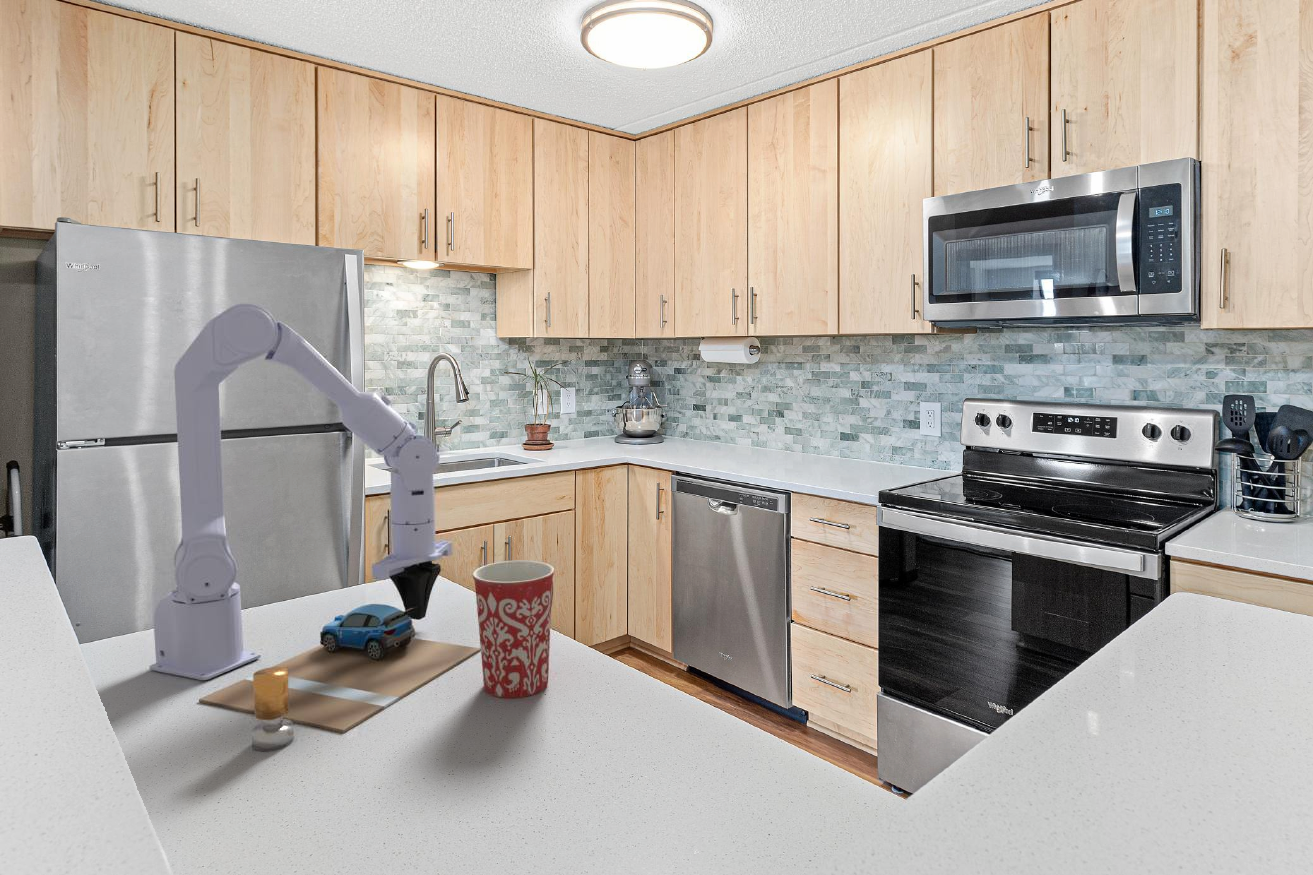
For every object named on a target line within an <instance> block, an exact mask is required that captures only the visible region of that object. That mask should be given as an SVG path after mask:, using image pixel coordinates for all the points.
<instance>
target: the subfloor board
mask: <svg viewBox="0 0 1313 875" xmlns="http://www.w3.org/2000/svg"><path fill="white" fill-rule="evenodd" d="M480 652H481V647H474V646H473V647H472V646H468V645H460V644H453V643H448V642H441V641H433V640H428V639H421V638H416V637H414V638H411V642H410V643H409V644H408V645H406V646H405V647H399V646H395V647H393V648H391V649H388V650H387V652H386V655H385V656H384V657H383V658H382V659H379V660H373V659H372V658H370V657H369V655H368V653H367V651H359V650H353V649H347V648H340V649H339V650H338V651H335V652H333V653H331V652H328V651H327V650H326V649H325V647H324V646H323V645H321V644H320V645H318V646H316V647H314V648H311V649H310V650H307V651H305V652H302V653H300V654H297V655H296V656H294V657H291V658H289V659H287V660H285V661H282V662H280V663H278V664H277V663H276V665H275V664H274V665H273V666H272V667H284V668H286V669H287V670H288V689H289V712H288V713H287V714H286V715H284V716H283V719H287V720H290V721H292V722H293V723H297V724H299V725H300V724H301V725H305V726H310V727H314V728H319V729H324V730H329V731H333V732H339V733H343V734H344V733H346V732H348V731H350V730H351V729H353V728H354V727H356V726H358V725H361V723H363V722H364V721H366V720H368V719H370V718H371V717H373V716H374V715H376V714H378V713H379V712H382V711H383V710H385V709H386V708H388V707H390V706H391V705H393V704H394V703H396V702H398V701H399V700H401V699H403V698H405V697H406V696H407V695H409V694H411V693H413V692H414V691H416V690H418V689H419V688H421V687H422V686H425V685H426V684H427V683H430V682H431V681H433V680H435V679H436V678H438V677H440V676H441V675H443V674H445V673H446V672H448V671H450V670H451V669H453V668H454V667H456V666H458V665H459V664H461V663H462V662H465V661H466V660H468V659H469V658H471V657H472V656H474V655H476V654H478V653H480ZM198 702H199V703H203V704H208V705H211V706H216V707H221V708H227V709H232V710H235V711H240V712H245V713H250V714H254V715H255V706H254V683H253V675H251V676H248V677H246V678H243V679H242V680H239V681H237V682H234V683H233V684H231V685H228V686H225V687H223V688H221V689H219V690H216V691H214V692H211V693H210V694H207V695H205V696H203V697H200V698H199V699H198Z"/></svg>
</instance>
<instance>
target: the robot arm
mask: <svg viewBox="0 0 1313 875" xmlns="http://www.w3.org/2000/svg"><path fill="white" fill-rule="evenodd" d="M264 355H265V358H264V361H267V362H269V363H273V364H278V365H281V366H285V367H288V368H291V369H292V370H294V371H295V373H297V374H298V375H300V377H302V378H303V379H304V380H305V381H307V382H308V383H309V384H311V385H312V386H313V387H314V388H315V389H317V390H318V391H319V392H320V393H322V394H323V395H324V396H325V397H326V398H328V399H329V401H331V402H332V403H334V404H335V405H336V406H337V407H339V409H340V411H341V421H342V422H341V423H342V424H343V426H344V427H346V428H347V429H348V430H349V431H350V432H352V433H353V434H354V435H355V436H356V437H357V438H359V440H361V441H362V442H363V443H364V444H365V445H367V447H369V448H370V449H371V450H372V451H373V452H374V453H376V454H377V455H378V456H382V457H383V461H384V463H385V465H386V466H387V467H389V468H391V469H390V489H389V491H390V492H389V493H390V520H391V524H390V525H391V526H390V527H391V528H390V529H391V551H392V552H391V553H389V554H388V555H386V556H385V557H383V558H382V559H381V560H378V561H377V562H374V563H373V564H372V563H371V569H372V570H371V574H372V580H379V581H385V580H389V579H390V580H391V581H392V583H393V584H394V586H395V588H396V589H397V592H398V593H399V595H400V600H401V601H402V604H403V607H404V611H405V610H407V609H410V608H415V607H417V609H416V611H415V613H411V614H410V618H411V619H412V620H417V621H418V620H422V619H424V618H426V615H427V609H428V607H429V606H428V605H429V602H430V598H431V594H432V590H433V588H434V585H435V583H436V581H437V579H438V576H439V575H440V573H441V572H442V570H441V569H442V568H441V567H442V566H441V564H440V563H434V562H436V561H439V560H441V559H443V557H450V556H452V555H453V542H452V541H450V540H449V541H446V540H439V541H436V511H435V510H436V509H435V486H434V472H435V470H436V469H437V468H438V465H439V462H440V454H438V451H437V450H436V445H435V444H434V442H432V440H430V439H429V438H428V437H426V436H423V435H420V434H419V433H417V432H416V429H417V428H418V426H417V425H416V424H415V423H414V421H409V422H408V421H407V420H406V419H405V418H403V416H401V415H400V414H399V413H398V412H397V411H396V410H395V409H394V408H392V407H391V406H390V404H391V403H392V400H391V399H390V398H388V397H387V396H386V395H383V394H381V395H380V396H379V395H378V394H377V393H376V392H374V391H363V392H362V391H359V390H357V388H356V387H355V386H353V384H351V382H349V381H348V380H347V378H345V377H344V376H343V375H342V374H341V373H340V372H339V371H338V370H337V369H336V368H335V367H334V366H333V365H332V364H331V363H330V362H329V361H328V360H326V358H324V356H323V355H322V354H320V353H319V352H318V351H317V350H316V349H315V347H313V346H312V345H311V344H310V343H309V342H308V341H307V340H306V339H305V338H304V337H302V336H301V335H299V334H298V333H297V331H295V330H294V329H293V328H291V327H290V326H288V325H287V324H285V323H284V322H282V321H281V320H277V321H276V319H275V318H274V317H273V315H272V314H271V313H270V312H269V310H267V309H266V308H264V307H262V306H260V305H257V304H254V303H247V302H246V303H238V304H235V305H232V306H230V307H229V308H227V309H225V310H224V311H222V312H221V313H219V314H218V315H216V316H214V317H213V318H212V319H210V320H209V321H208V322H207V323H206V324H205V326H203V328H202V330H200V332H199V333H198V334H197V336H195V339H193V341H192V342H191V344H190V345H189V346H188V347H187V349H186V350H185V351H184V353H183V354H182V356H181V357H180V358H179V359H178V360H177V362H176V364H175V365H174V372H173V373H174V377H173V378H174V393H175V394H174V395H175V412H176V414H175V415H176V432H177V433H176V435H177V437H176V438H177V453H178V456H177V457H178V473H179V474H178V475H179V476H178V478H179V492H180V493H179V495H180V496H179V498H180V515H181V517H180V518H181V539H180V543H179V544H178V546H177V549H176V550H175V553H174V559H173V561H174V567H175V569H174V581H175V584H176V586H177V587H176V588H175V589H173V590H172V591H171V592H169V593H168V594H166V595H165V596H163V597H161V599H160V600H159V601H158V604H157V605H156V607H155V610H154V613H153V619H152V620H153V633H154V634H153V635H154V648H155V649H154V650H155V661H156V662H155V663H153V664H150V665H149V670H151V671H153V672H154V671H155V672H160V673H165V674H170V675H175V676H180V677H185V678H190V679H196V680H199V681H200V680H201V681H207V680H210V679H212V678H216V677H217V676H219V675H222V674H224V673H226V672H229V671H231V670H234V669H236V668H238V667H241V666H243V665H245V664H247V663H251V662H252V661H256V660H258V659H259V658H261V653H259V652H253V651H247V650H244V638H243V637H244V636H243V635H244V634H243V621H242V620H243V619H242V618H243V617H242V601H241V598H242V597H241V585H240V584H239V583H237V582H236V578H237V575H238V565H237V561H236V560H235V557H233V551H232V548H231V545H230V544H229V542H228V541H227V530H226V529H227V528H226V520H225V500H224V496H225V495H224V479H223V478H224V477H223V459H222V458H223V456H222V455H223V454H222V453H223V452H222V451H223V450H222V431H221V411H220V410H221V409H220V391H219V390H220V387H219V386H220V385H221V383H223V381H224V380H226V378H228V377H229V376H230V375H231V374H233V373H234V372H235V371H236V370H237V369H238V368H239V367H241V365H244V364H246V363H249V362H251V361H254V360H256V359H257V358H260V357H262V356H264ZM407 615H409V614H407Z"/></svg>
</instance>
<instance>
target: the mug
mask: <svg viewBox="0 0 1313 875" xmlns="http://www.w3.org/2000/svg"><path fill="white" fill-rule="evenodd" d="M555 570H556V569H555V568H554V566H553V565H552V564H549V563H546V562H542V561H534V560H506V561H505V560H504V561H497V562H492V563H488V564H485V565H483V566H481V567H478V568H477V569H475V570H474V571H473V572H472V578H473V582H474V587H475V588H474V589H475V599H476V602H475V603H476V611H477V612H476V613H477V622H478V631H479V632H478V633H479V644H480V645H479V646H480V647H479V648H481V651H480V654H481V655H480V656H481V667H482V668H481V669H482V679H483V680H482V681H483V686H484V690H485V692H487V693H488V694H489V695H491V696H493V697H498V698H501V699H502V698H504V699H517V698H518V699H520V698H526V697H529V696H533V695H535V694H538V693H540V692H542V691H543V690H545V688H546V687H547V685H548V683H549V674H550V673H549V671H550V670H549V669H550V668H549V667H550V666H549V665H550V648H551V646H550V645H551V644H550V641H551V620H552V618H551V617H552V608H553V607H552V606H553V599H554V598H553V597H554V583H553V582H554V581H553V580H554V579H553V577H554V574H555V572H556V571H555Z"/></svg>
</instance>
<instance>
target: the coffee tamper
mask: <svg viewBox="0 0 1313 875" xmlns="http://www.w3.org/2000/svg"><path fill="white" fill-rule="evenodd" d="M253 683H254V706H255V714H254V717H255V719H257V720H261V723H259V724H256V725H255V726H254V727H253V728H252V730H251V736H252V738H251V739H252V740H251V741H252V748H253V749H254V750H255V751H259V752H274V751H278V750H281V749H284V748H286V747H288V746H290V745H291V744H292V743H293V742H294V738H295V736H294V722H292V721H290V720H287V719H283V716H284V715H286V714H287V713H288V712H289V689H288V670H287V669H286V668H284V667H273V666H270V667H266V668H262V669H260V670H257V671H255V672H254V673H253Z"/></svg>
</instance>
